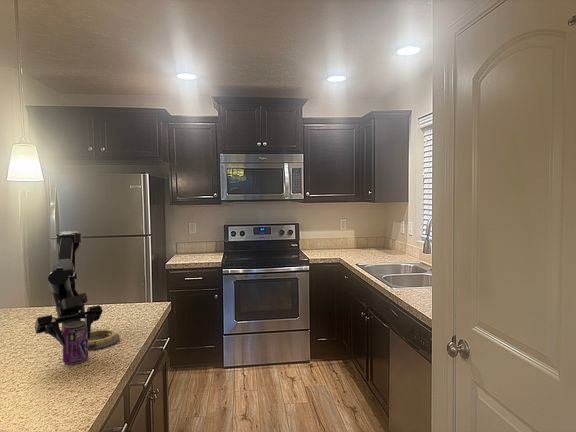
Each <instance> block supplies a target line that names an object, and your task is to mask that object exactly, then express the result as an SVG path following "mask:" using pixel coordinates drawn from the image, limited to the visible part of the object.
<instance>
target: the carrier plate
mask: <svg viewBox="0 0 576 432" xmlns="http://www.w3.org/2000/svg"><path fill="white" fill-rule="evenodd" d="M119 342H120V334H118V333H117V332H115V331H114V330H112V329H96V330H92V331H91V330H90V338H89V339H88V352H89V351H96V350H102V349H106V348H109V347H112V346H113V345H116V344H117V343H119Z"/></svg>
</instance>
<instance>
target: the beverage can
mask: <svg viewBox="0 0 576 432" xmlns="http://www.w3.org/2000/svg"><path fill="white" fill-rule="evenodd" d="M61 330H62V329H61ZM62 336H63V338H64V342H65V344H64V345H62V362H63V363H66V364H69V365H77V364H81V363H83V362H85V360H87V359H88V358H89V357H90V356H89V351H88V328H87V326H86V322H85V321H84V320H81V321H72V322H68V323H66V324H64V328H63V330H62Z"/></svg>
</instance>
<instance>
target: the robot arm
mask: <svg viewBox="0 0 576 432" xmlns="http://www.w3.org/2000/svg"><path fill="white" fill-rule="evenodd" d="M82 242H83V234H82V233H79V231H78V230H73V231H72V230H71V231H60V233H58V234H56V244H58V247H59V251H58V260H57V262H56V263H55V264H54V265H53V267H52V271H50V273H49V275H48V277H47V280H48V284H49V288H50V291H51V295H52V299H53V301H54V306H55V312H56V313H57V314H56V315H57V317H55V316H53V315H52V314H47V315H40V316H37V318H36V321H35V325H34V330H35V331H34V332H35V333H36V334H42V333H44V334H45V335H47V334H48V335H50V336H51V337H53V338H54V339H55V340H56V341H57V342H58V343H59V344H61V345H62V346H63V345H64V344H65V342H64V338H63V336H62V330H63V328H64V324H66V323H68V322H72V321H82V319H83V321H85V322H86V326H87V328H88V339H89V338H90V332H91V327H92V324H93V323H94V322H96V321H98V320H100V318H101V316H102V314H103V308H102V306H100V305H98V304H97V305H93V306H92V305H91V306H88V307H87V309H86V307H85V304H86V303H88V296H87V293H86V292H82V293H81V292H80V293H79V292H78V290H77V280H78V277H79V273H78V271H77V253H78V251H79V250H80V248H81V243H82ZM60 324H61V328H60Z"/></svg>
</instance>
